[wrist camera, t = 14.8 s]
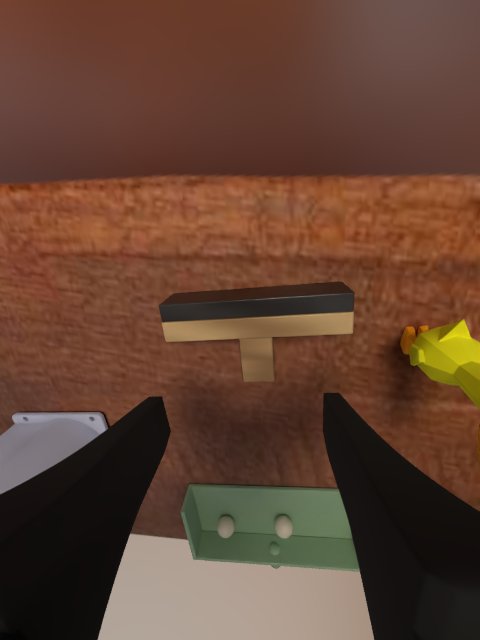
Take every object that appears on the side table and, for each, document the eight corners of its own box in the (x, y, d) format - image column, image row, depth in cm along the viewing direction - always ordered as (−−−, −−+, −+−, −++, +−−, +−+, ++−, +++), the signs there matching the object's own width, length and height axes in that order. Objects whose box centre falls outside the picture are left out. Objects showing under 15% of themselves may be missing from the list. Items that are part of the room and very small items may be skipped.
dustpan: (188, 483, 27) (180, 512, 24) (359, 489, 24) (370, 521, 22) (202, 541, 30) (196, 572, 27) (354, 551, 28) (362, 585, 25)
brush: (173, 293, 19) (188, 365, 21) (157, 305, 16) (175, 387, 19) (341, 280, 18) (338, 360, 20) (355, 292, 15) (349, 383, 17)
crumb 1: (215, 517, 28) (217, 538, 27) (216, 518, 26) (218, 541, 25) (231, 513, 28) (234, 534, 27) (234, 514, 27) (236, 536, 26)
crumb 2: (277, 517, 25) (269, 518, 26) (283, 541, 24) (274, 541, 25) (292, 512, 26) (283, 513, 27) (298, 534, 25) (289, 535, 26)
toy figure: (435, 379, 19) (656, 593, 8) (385, 382, 20) (529, 586, 9) (447, 293, 17) (776, 431, 6) (389, 299, 18) (593, 435, 7)
